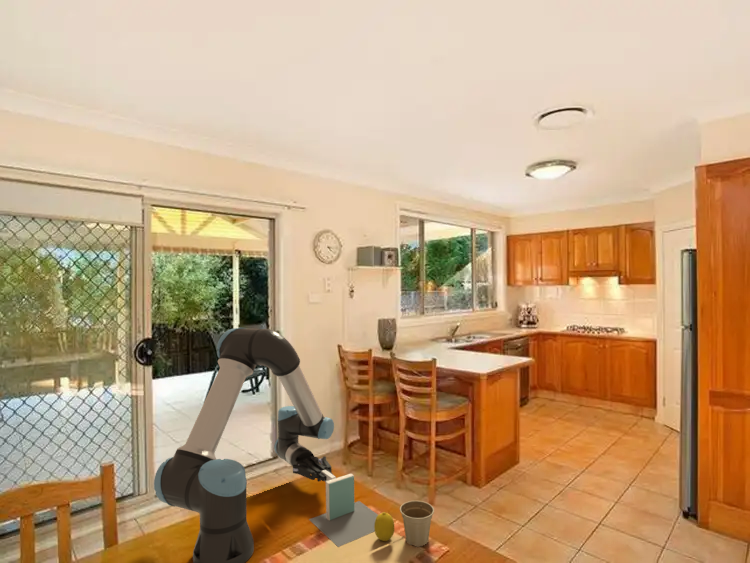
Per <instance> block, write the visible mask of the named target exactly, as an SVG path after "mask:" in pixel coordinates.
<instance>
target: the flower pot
mask: <svg viewBox="0 0 750 563" xmlns="http://www.w3.org/2000/svg"><path fill="white" fill-rule="evenodd" d="M399 512H400V514H401V517H402V521H403V526H404V527H403V529H404V534H405V541H406V543H407V544H408V545H410V546H412V545H413V546H415V547H423V545H424V546H426V545H427V544H428V542H429V538H430V529H431V522H432V519H433V515H434V514H435V508H434V506H432V504H430V503H429V502H427V501H423V500H409V501H405V502H404V503H402V504H401V505H400V507H399ZM425 544H426V545H425Z"/></svg>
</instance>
